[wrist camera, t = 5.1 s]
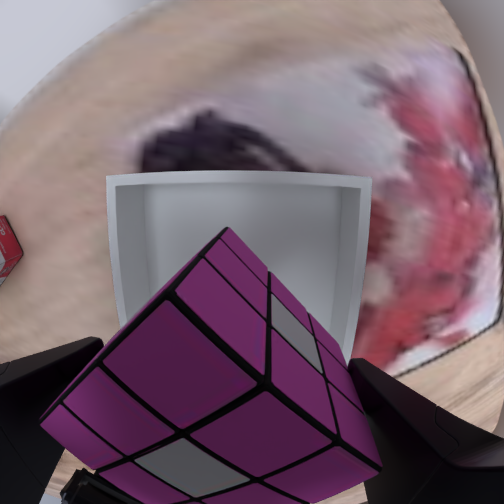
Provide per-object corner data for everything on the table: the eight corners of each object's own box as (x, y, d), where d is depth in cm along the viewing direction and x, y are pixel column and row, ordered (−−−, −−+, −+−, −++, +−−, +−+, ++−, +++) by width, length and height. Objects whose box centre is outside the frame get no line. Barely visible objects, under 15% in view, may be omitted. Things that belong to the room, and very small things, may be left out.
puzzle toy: (226, 418, 11) (204, 533, 5) (122, 327, 10) (35, 423, 5) (340, 344, 10) (386, 472, 4) (227, 223, 9) (165, 287, 4)
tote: (320, 409, 23) (327, 446, 18) (162, 399, 24) (146, 432, 19) (349, 177, 18) (372, 177, 14) (139, 175, 19) (106, 175, 15)
